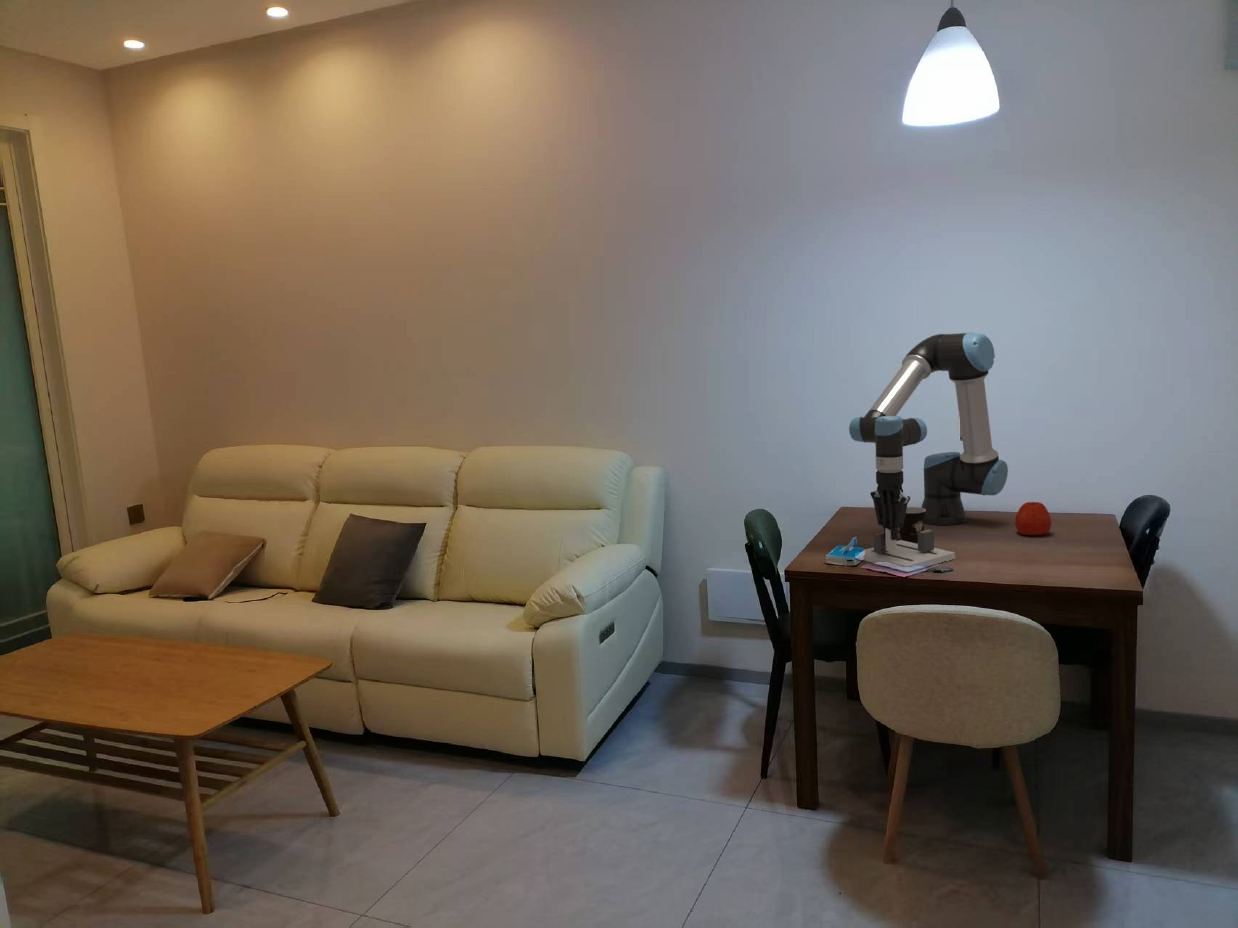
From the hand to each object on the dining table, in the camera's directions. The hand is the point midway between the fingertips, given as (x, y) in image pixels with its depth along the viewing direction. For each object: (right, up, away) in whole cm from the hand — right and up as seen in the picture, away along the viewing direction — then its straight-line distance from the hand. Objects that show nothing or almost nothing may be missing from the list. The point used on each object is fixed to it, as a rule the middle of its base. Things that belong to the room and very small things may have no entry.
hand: (891, 549), depth 256 cm
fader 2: (+11, 0, +1) cm, 11 cm away
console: (+5, -3, +3) cm, 6 cm away
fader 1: (-2, -1, +3) cm, 4 cm away
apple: (+51, +3, +20) cm, 55 cm away
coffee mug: (+12, 0, +22) cm, 25 cm away
